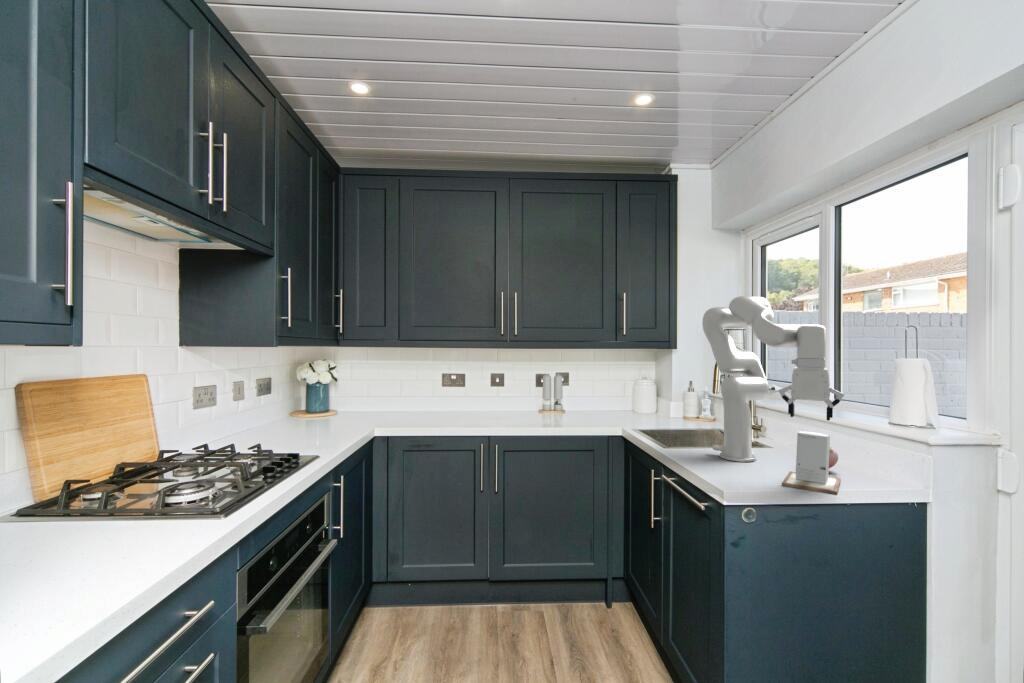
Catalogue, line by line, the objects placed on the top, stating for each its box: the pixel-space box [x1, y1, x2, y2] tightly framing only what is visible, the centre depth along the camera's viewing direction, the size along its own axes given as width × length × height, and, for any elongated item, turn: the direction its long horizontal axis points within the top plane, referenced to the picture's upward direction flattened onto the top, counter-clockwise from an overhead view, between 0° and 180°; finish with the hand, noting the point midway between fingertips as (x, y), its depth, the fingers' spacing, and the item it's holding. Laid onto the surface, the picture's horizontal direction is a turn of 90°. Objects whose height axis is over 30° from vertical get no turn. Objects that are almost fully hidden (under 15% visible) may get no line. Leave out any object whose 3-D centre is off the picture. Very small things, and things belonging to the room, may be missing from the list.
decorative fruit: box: [829, 446, 839, 469], centre depth 161 cm, size 9×8×10 cm
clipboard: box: [781, 470, 841, 495], centre depth 146 cm, size 14×17×2 cm
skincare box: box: [795, 430, 831, 484], centre depth 146 cm, size 8×6×15 cm
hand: (809, 418), depth 147 cm, fingers open, 9 cm apart
